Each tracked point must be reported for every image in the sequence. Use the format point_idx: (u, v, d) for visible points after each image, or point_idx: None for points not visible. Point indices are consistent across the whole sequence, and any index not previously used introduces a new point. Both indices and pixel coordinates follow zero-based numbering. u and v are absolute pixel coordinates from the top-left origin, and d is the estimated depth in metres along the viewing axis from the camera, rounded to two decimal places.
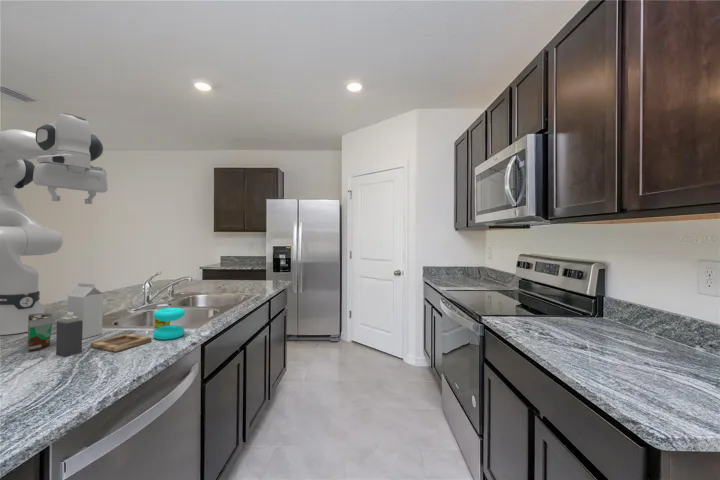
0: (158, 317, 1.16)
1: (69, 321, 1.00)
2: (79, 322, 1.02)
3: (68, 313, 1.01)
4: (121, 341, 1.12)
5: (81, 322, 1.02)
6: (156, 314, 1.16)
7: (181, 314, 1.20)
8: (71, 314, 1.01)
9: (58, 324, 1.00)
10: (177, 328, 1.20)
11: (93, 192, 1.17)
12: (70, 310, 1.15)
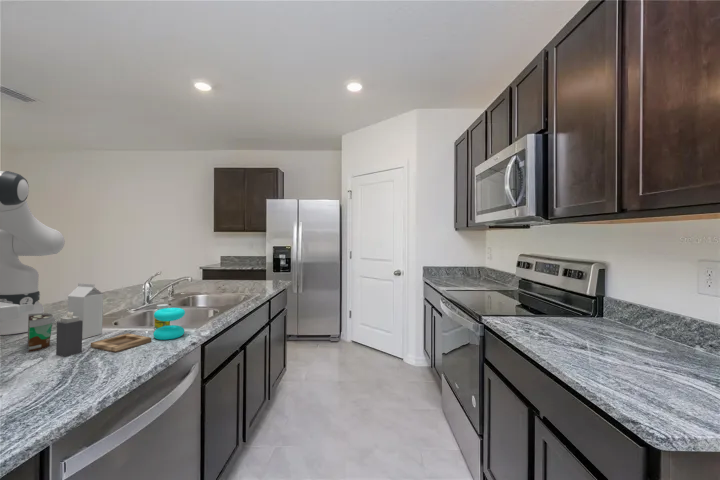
0: (158, 317, 1.16)
1: (69, 321, 1.00)
2: (79, 322, 1.02)
3: (68, 313, 1.01)
4: (121, 341, 1.12)
5: (81, 322, 1.02)
6: (156, 314, 1.16)
7: (181, 314, 1.20)
8: (71, 314, 1.01)
9: (58, 324, 1.00)
10: (177, 328, 1.20)
11: None
12: (70, 310, 1.15)
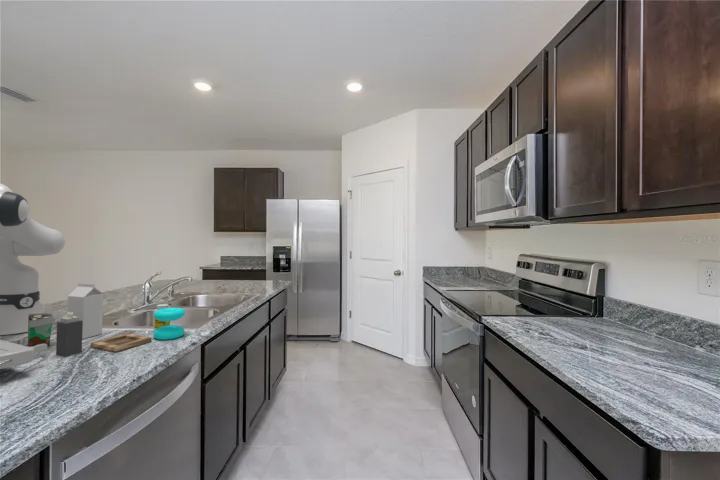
0: (158, 317, 1.16)
1: (69, 321, 1.00)
2: (79, 322, 1.02)
3: (68, 313, 1.01)
4: (121, 341, 1.12)
5: (81, 322, 1.02)
6: (156, 314, 1.16)
7: (181, 314, 1.20)
8: (71, 314, 1.01)
9: (58, 324, 1.00)
10: (177, 328, 1.20)
11: None
12: (70, 310, 1.15)
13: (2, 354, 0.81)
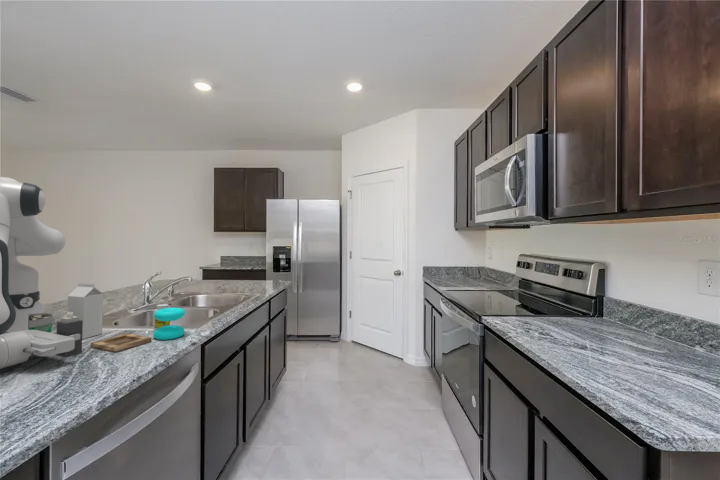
0: (158, 317, 1.16)
1: (69, 321, 1.00)
2: (79, 322, 1.02)
3: (68, 313, 1.01)
4: (121, 341, 1.12)
5: (81, 322, 1.02)
6: (156, 314, 1.16)
7: (181, 314, 1.20)
8: (71, 314, 1.01)
9: (58, 324, 1.00)
10: (177, 328, 1.20)
11: None
12: (70, 310, 1.15)
13: (48, 342, 0.89)
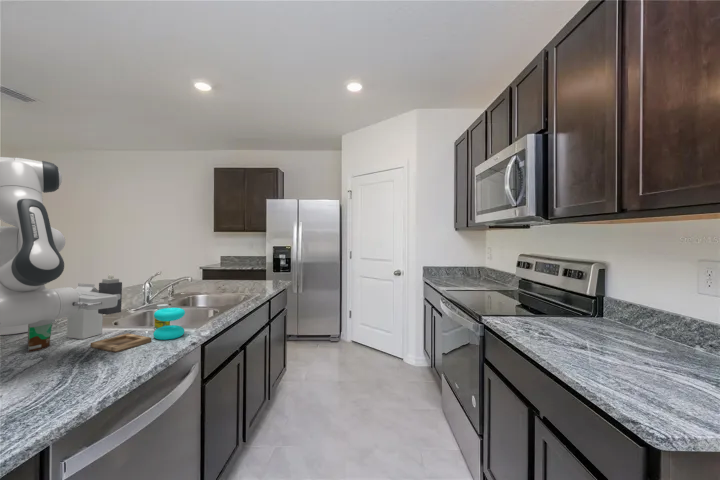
0: (158, 317, 1.16)
1: (110, 282, 1.06)
2: (119, 283, 1.08)
3: (109, 275, 1.08)
4: (121, 341, 1.12)
5: (121, 284, 1.09)
6: (156, 314, 1.16)
7: (181, 314, 1.20)
8: (112, 275, 1.07)
9: (100, 284, 1.06)
10: (177, 328, 1.20)
11: None
12: None
13: (95, 297, 0.96)
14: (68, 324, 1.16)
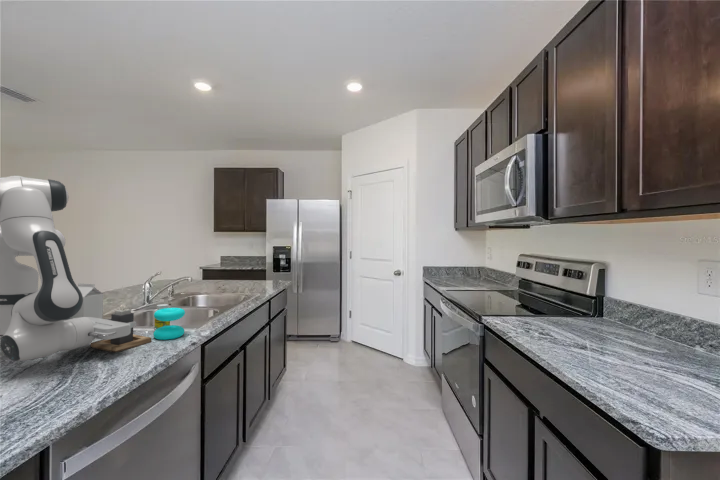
0: (158, 317, 1.16)
1: (123, 313, 1.09)
2: (131, 314, 1.11)
3: (121, 306, 1.10)
4: None
5: (132, 314, 1.11)
6: (156, 314, 1.16)
7: (181, 314, 1.20)
8: (124, 307, 1.10)
9: (113, 316, 1.09)
10: (177, 328, 1.20)
11: None
12: None
13: (109, 327, 0.98)
14: None
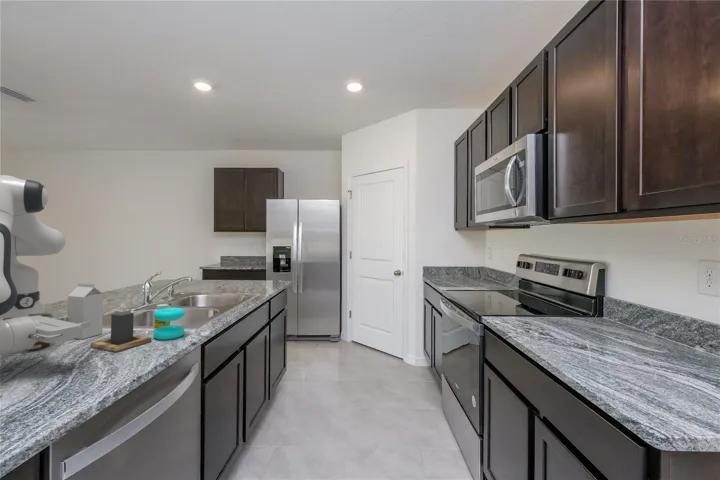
0: (158, 317, 1.16)
1: (123, 313, 1.09)
2: (131, 314, 1.11)
3: (121, 306, 1.10)
4: None
5: (132, 314, 1.11)
6: (156, 314, 1.16)
7: (181, 314, 1.20)
8: (124, 307, 1.10)
9: (113, 316, 1.09)
10: (177, 328, 1.20)
11: None
12: (70, 310, 1.15)
13: (54, 329, 0.86)
14: None
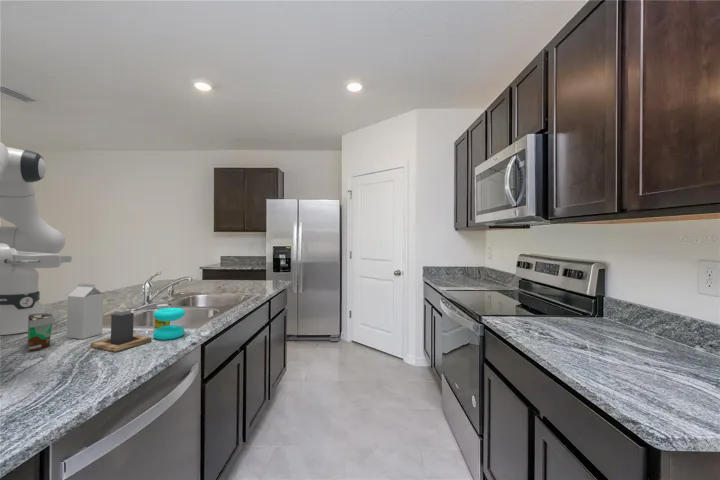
0: (158, 317, 1.16)
1: (123, 313, 1.09)
2: (131, 314, 1.11)
3: (121, 306, 1.10)
4: None
5: (132, 314, 1.11)
6: (156, 314, 1.16)
7: (181, 314, 1.20)
8: (124, 307, 1.10)
9: (113, 316, 1.09)
10: (177, 328, 1.20)
11: None
12: (70, 310, 1.15)
13: (31, 254, 0.84)
14: (68, 324, 1.16)
